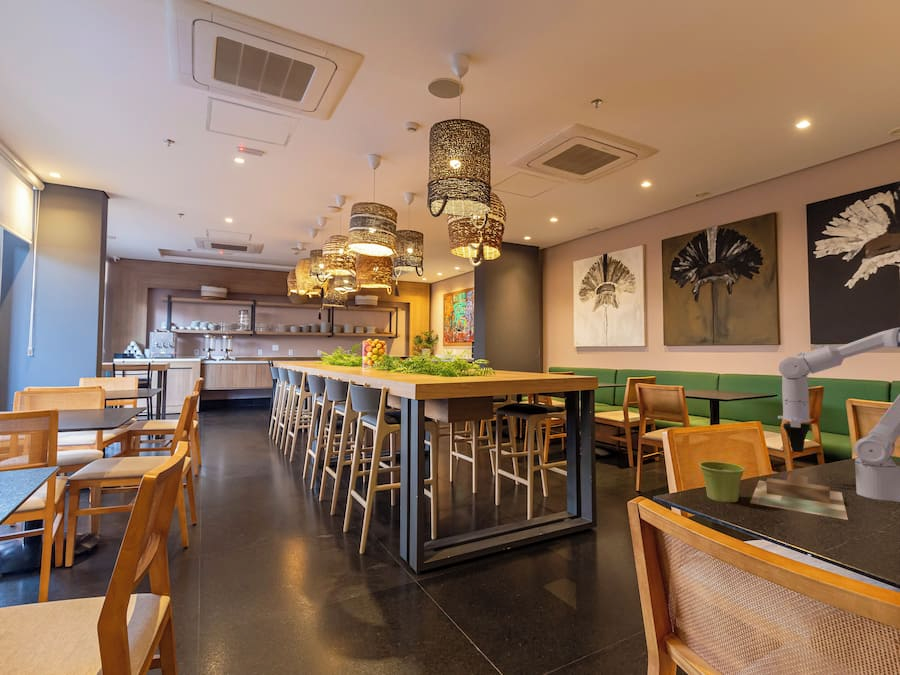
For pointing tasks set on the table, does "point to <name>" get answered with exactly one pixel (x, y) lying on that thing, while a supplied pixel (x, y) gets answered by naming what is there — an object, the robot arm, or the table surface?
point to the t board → (801, 503)
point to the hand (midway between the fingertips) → (797, 450)
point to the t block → (798, 489)
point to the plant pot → (722, 480)
